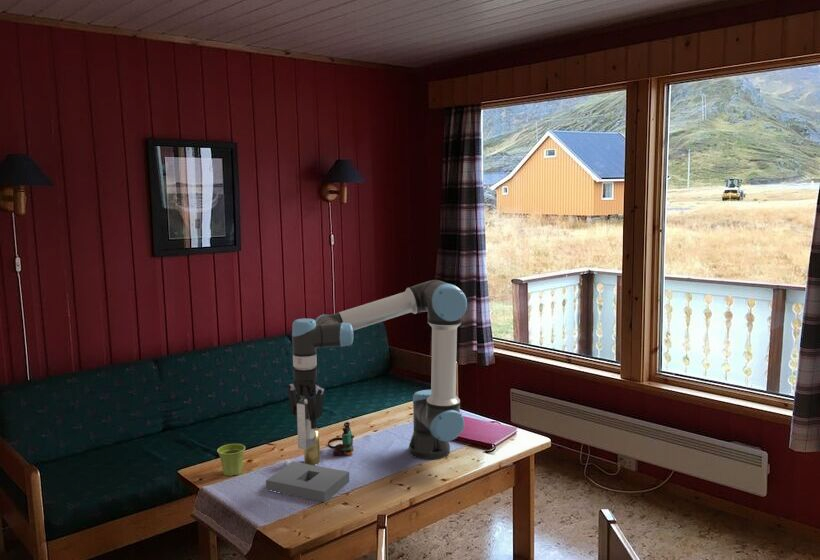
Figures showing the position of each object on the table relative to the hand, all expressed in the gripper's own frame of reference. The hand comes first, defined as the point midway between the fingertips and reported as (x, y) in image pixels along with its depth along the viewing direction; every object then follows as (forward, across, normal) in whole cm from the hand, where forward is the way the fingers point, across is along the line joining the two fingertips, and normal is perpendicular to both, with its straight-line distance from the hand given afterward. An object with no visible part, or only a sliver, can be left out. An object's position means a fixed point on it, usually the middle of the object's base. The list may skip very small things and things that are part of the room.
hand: (306, 436), depth 222 cm
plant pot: (+17, -30, -1) cm, 34 cm away
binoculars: (+17, -4, +29) cm, 34 cm away
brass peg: (+17, -9, +17) cm, 25 cm away
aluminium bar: (+3, 0, 0) cm, 3 cm away
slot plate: (+17, 0, 0) cm, 17 cm away
